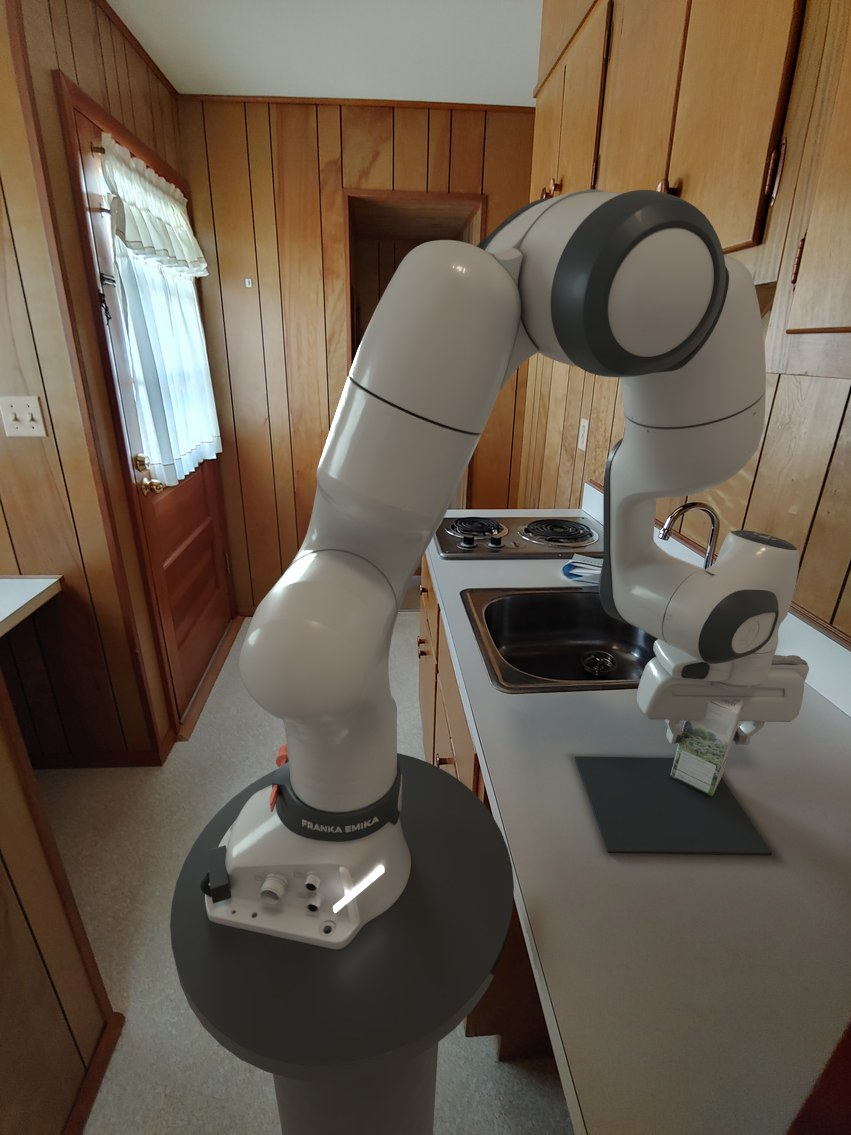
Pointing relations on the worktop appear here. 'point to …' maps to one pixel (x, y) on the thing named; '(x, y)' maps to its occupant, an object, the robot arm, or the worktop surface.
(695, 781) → the syrup box
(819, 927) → the worktop surface
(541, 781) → the worktop surface
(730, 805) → the mat
